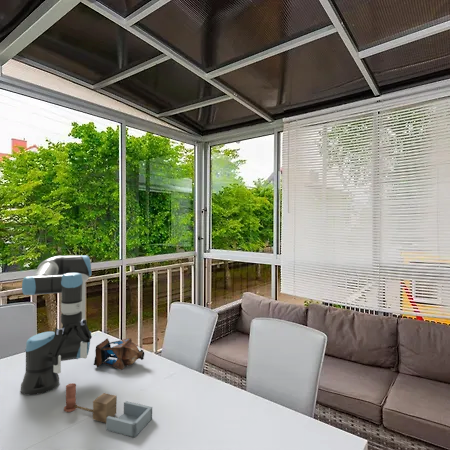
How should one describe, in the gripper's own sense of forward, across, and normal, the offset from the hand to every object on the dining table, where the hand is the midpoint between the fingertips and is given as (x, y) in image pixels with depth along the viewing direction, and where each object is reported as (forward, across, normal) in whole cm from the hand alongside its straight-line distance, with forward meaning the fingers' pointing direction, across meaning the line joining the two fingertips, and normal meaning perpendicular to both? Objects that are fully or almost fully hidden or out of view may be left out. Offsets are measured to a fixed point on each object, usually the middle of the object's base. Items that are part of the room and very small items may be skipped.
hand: (70, 364), depth 126 cm
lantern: (+18, +39, +5) cm, 43 cm away
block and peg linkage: (+17, 0, -9) cm, 20 cm away
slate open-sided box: (+18, 0, -28) cm, 33 cm away
